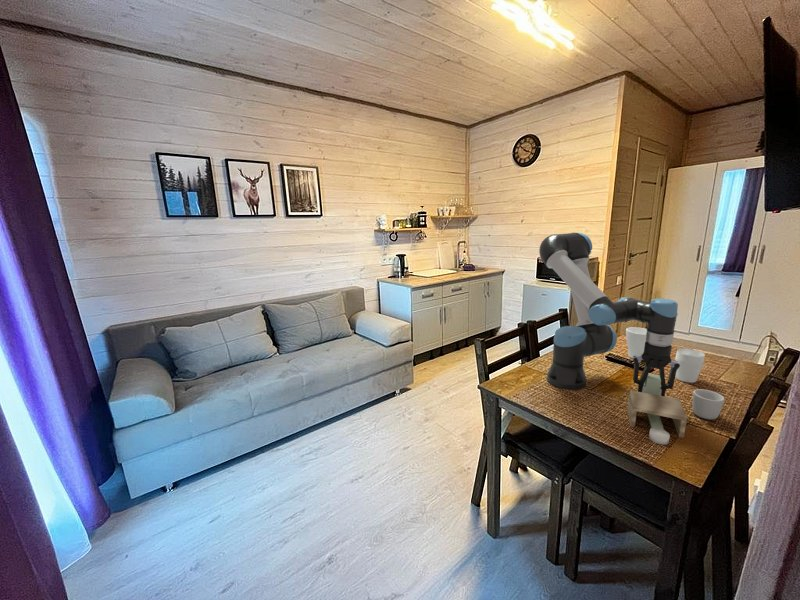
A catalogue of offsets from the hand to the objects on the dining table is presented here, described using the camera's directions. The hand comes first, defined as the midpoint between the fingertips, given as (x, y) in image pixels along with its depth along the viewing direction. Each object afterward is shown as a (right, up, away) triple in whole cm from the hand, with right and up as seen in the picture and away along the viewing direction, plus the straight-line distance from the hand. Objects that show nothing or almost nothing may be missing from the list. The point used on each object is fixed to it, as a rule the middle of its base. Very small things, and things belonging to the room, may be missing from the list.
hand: (649, 402), depth 124 cm
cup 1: (+23, +10, +41) cm, 48 cm away
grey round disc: (-10, -6, -18) cm, 22 cm away
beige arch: (-5, -4, -9) cm, 11 cm away
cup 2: (+29, +4, +18) cm, 34 cm away
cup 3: (+15, -2, -6) cm, 16 cm away
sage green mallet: (-4, -3, -7) cm, 9 cm away
